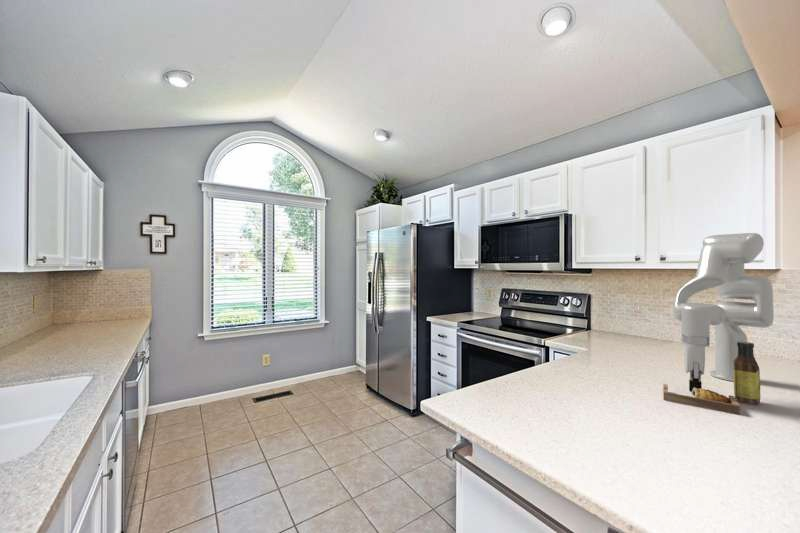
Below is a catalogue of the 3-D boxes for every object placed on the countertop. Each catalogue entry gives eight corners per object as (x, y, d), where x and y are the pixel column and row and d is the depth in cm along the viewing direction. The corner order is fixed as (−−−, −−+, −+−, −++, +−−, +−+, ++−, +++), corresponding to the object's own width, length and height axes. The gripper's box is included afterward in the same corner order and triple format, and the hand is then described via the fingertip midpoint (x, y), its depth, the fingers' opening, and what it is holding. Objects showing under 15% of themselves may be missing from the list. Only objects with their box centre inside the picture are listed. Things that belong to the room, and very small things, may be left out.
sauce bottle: (766, 406, 110) (766, 345, 110) (743, 404, 111) (743, 344, 112) (749, 398, 117) (749, 341, 117) (728, 397, 118) (728, 340, 118)
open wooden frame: (663, 390, 123) (663, 383, 123) (733, 403, 112) (733, 396, 112) (663, 399, 114) (663, 392, 115) (739, 414, 103) (739, 406, 103)
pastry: (726, 401, 114) (726, 390, 114) (732, 408, 108) (733, 396, 108) (690, 395, 119) (690, 384, 119) (694, 402, 113) (694, 390, 113)
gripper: (680, 335, 128) (680, 384, 128) (682, 342, 116) (682, 395, 116) (707, 338, 123) (707, 388, 123) (711, 345, 111) (711, 401, 111)
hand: (695, 391), depth 119 cm, fingers closed
